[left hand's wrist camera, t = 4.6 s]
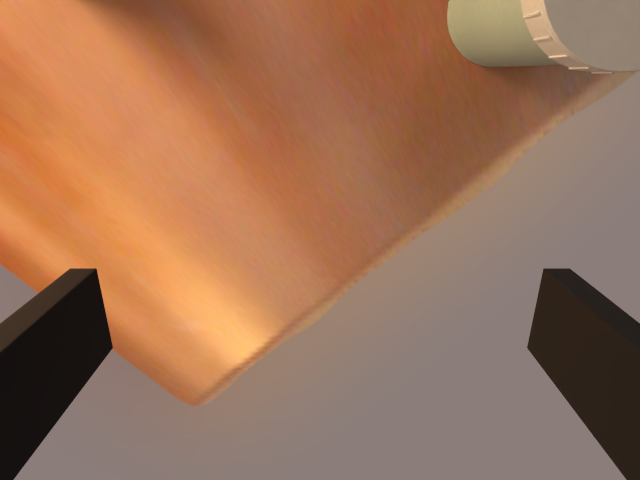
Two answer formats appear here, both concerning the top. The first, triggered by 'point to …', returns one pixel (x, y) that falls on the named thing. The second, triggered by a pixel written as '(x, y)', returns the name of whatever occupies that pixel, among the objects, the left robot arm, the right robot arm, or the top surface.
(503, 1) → the screw-top jar
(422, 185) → the top surface
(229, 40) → the top surface
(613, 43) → the lid
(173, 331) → the top surface
